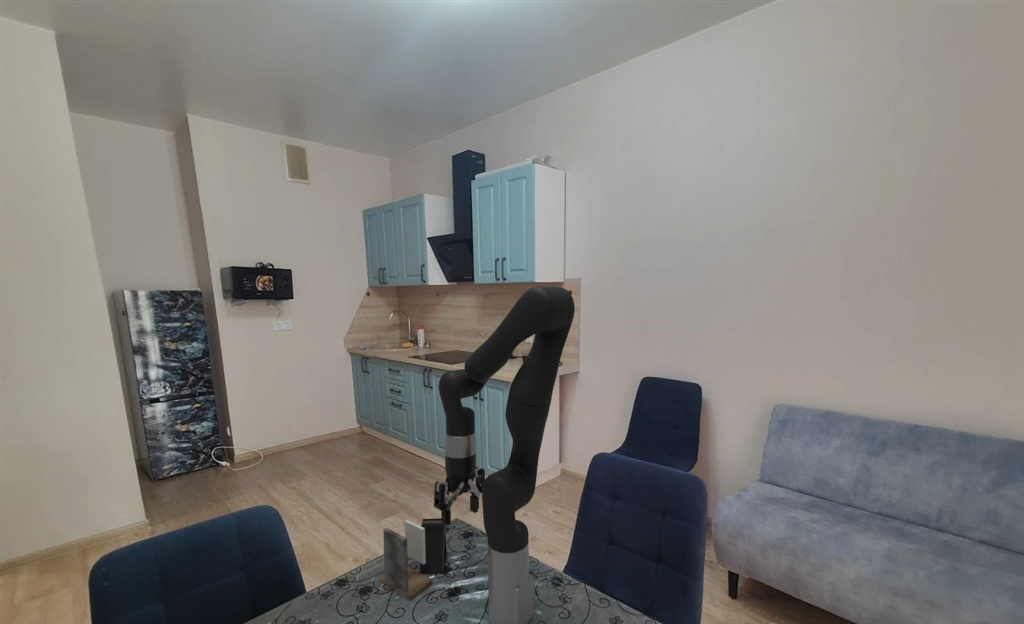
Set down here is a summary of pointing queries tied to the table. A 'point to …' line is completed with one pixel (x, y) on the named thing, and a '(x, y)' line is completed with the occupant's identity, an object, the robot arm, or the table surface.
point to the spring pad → (415, 541)
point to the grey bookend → (401, 568)
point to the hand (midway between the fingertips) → (460, 517)
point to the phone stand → (434, 546)
